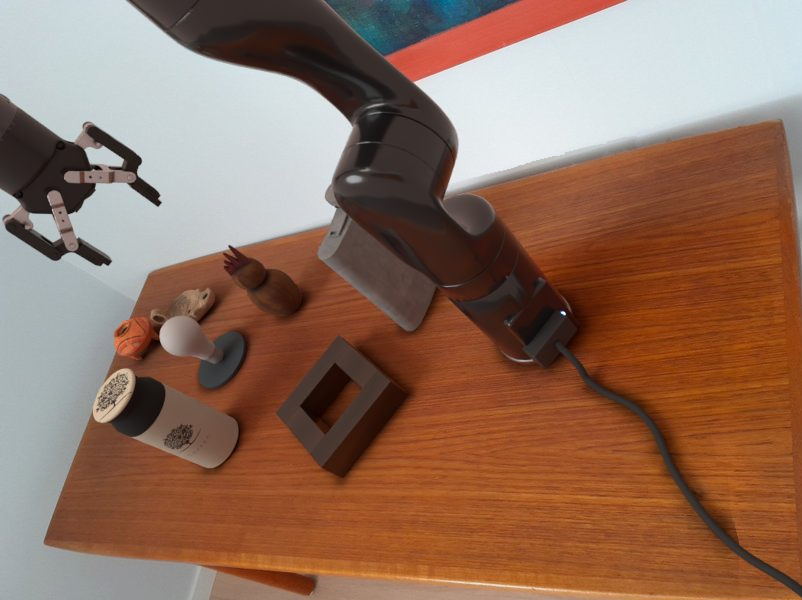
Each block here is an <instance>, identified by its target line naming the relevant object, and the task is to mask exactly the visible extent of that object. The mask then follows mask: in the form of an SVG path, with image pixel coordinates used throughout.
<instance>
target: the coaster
mask: <svg viewBox="0 0 802 600" xmlns="http://www.w3.org/2000/svg"><path fill="white" fill-rule="evenodd" d="M212 342H213V343H214V344H215V346H217V347H218V348H220V349H221V350H222V351H223V353H224V355H223V359H222V360H221V361H220V362H219V363H216V364H213V363H211V362H209V361H207V360H202V359H200V360H201V361H200V363H199V367H198V380H199V383H200V384H201V386H203V387H204V388H207V389H210V390H215V389H219V388H221V387H223V386H225V385H226V384H228V383H229V382H230V381H231V380H232V379H233V378H234V377H235V376H236V375H237V373H238V372H239V370H240V369H241V367H242V365H243V363H244V361H245V359H246V354H247V347H248V346H247V345H248V344H247V340H246V338H245V336H244V335H242V334H241V333H240V332H237V331H228V332H226V333H223V334H222V335H220V336H218V337H217V338H216V339H214V341H212Z"/></svg>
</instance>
